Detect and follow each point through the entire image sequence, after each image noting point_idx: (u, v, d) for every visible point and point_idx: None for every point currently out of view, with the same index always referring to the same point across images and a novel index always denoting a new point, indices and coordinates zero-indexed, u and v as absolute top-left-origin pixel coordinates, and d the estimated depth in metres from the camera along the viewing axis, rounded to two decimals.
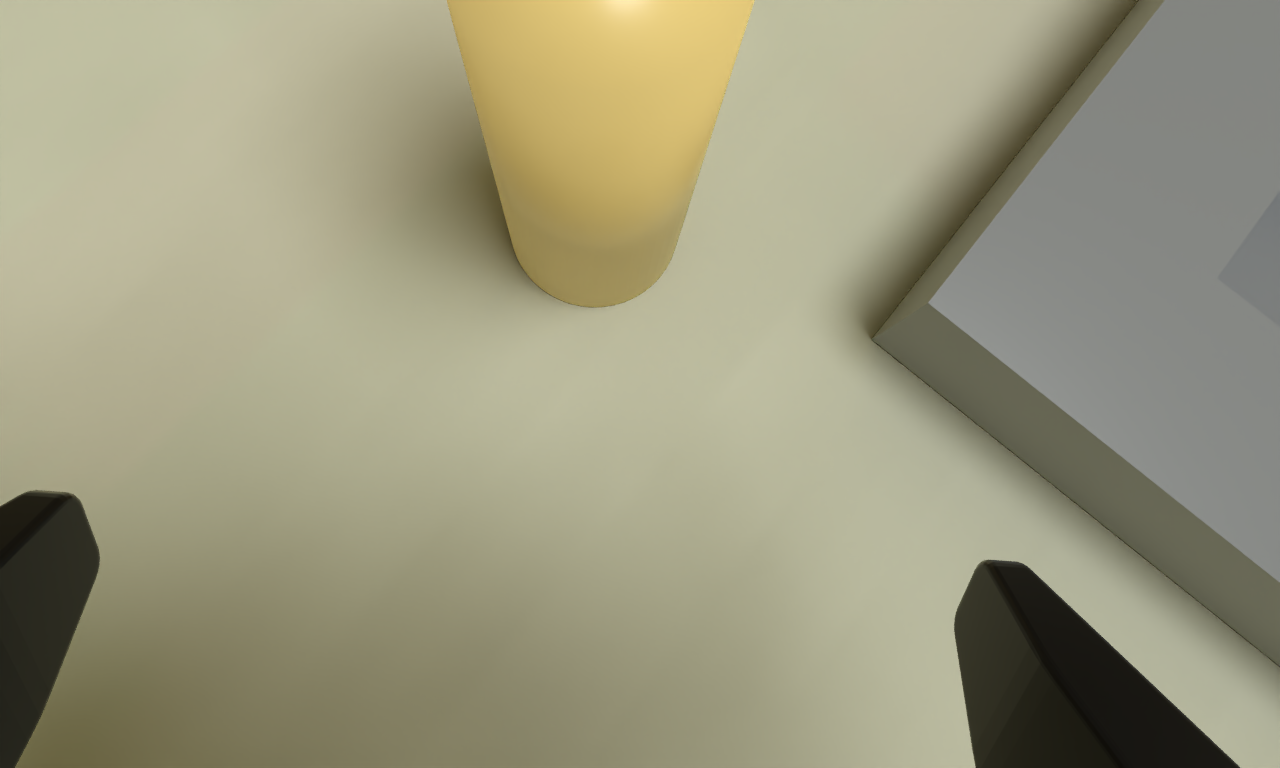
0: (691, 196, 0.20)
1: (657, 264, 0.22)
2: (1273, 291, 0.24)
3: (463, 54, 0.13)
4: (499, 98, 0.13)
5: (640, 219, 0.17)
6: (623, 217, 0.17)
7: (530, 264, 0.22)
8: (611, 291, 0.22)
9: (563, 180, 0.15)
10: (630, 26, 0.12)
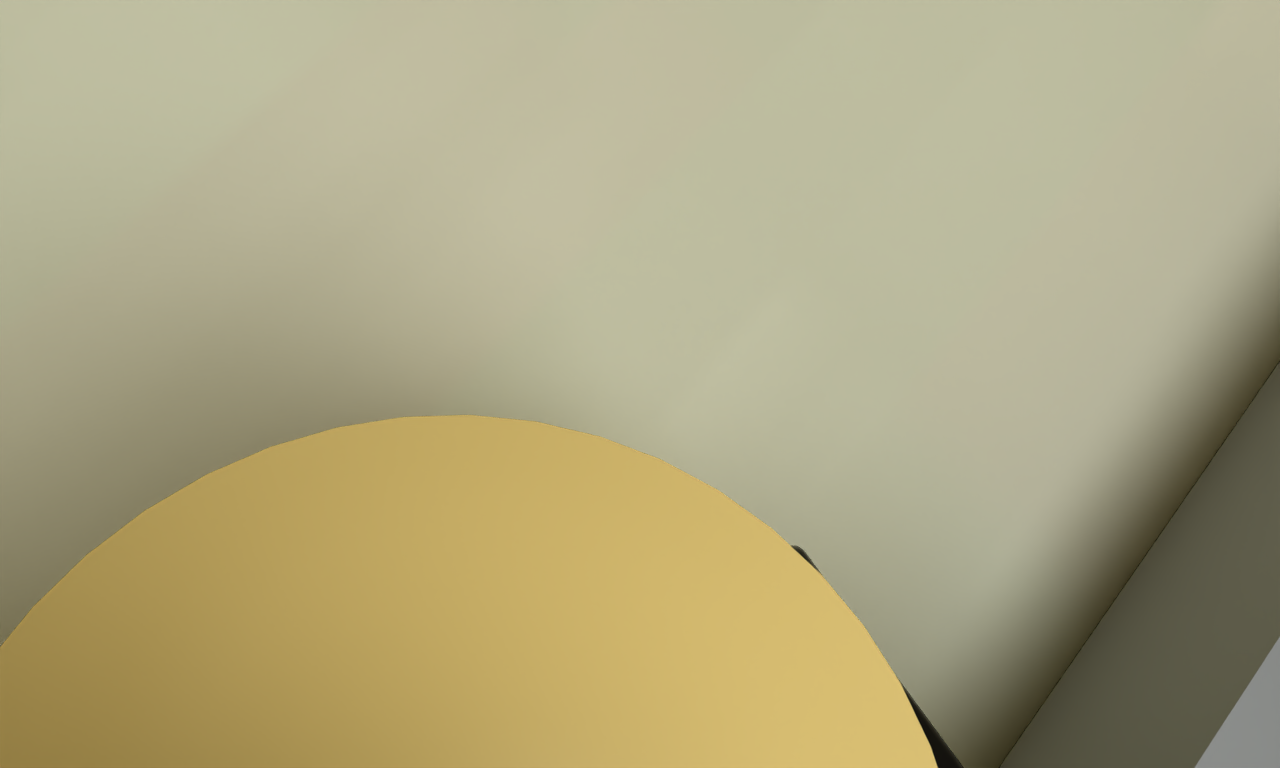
0: None
1: None
2: None
3: None
4: None
5: None
6: None
7: None
8: None
9: None
10: None
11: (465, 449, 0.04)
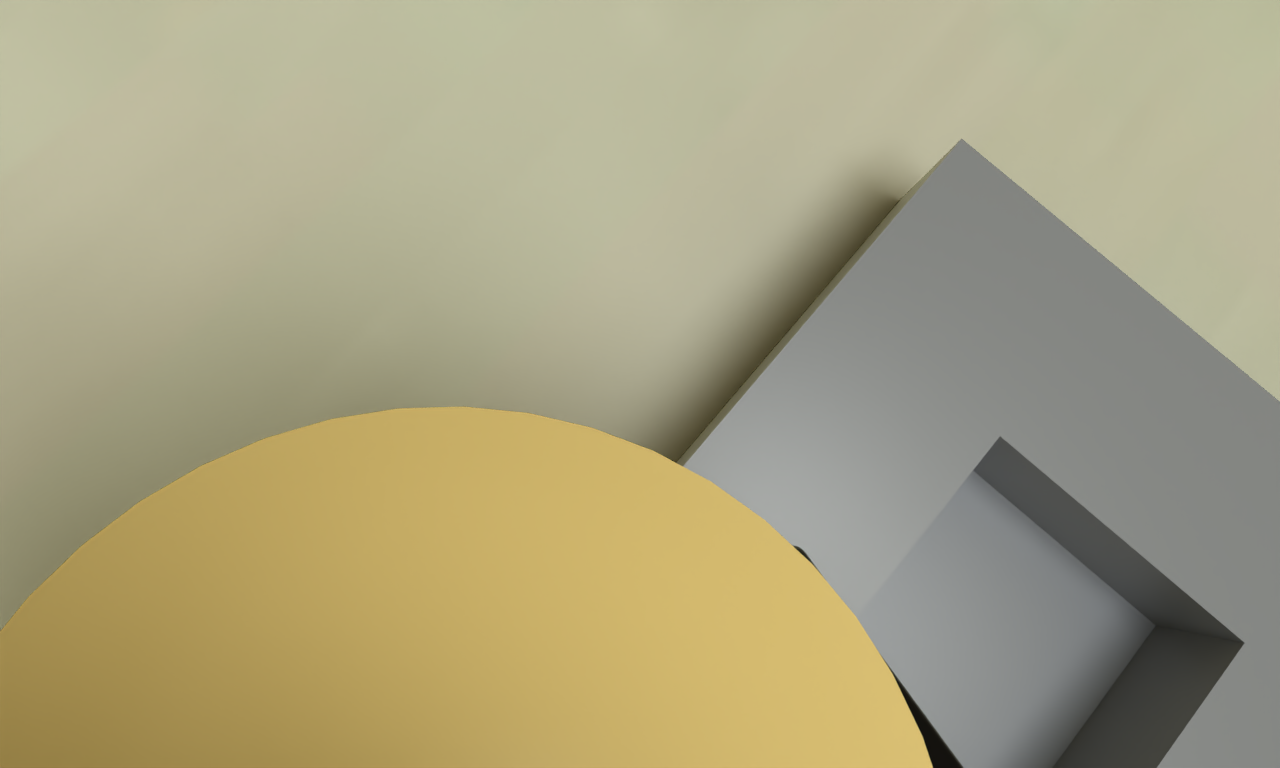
0: None
1: None
2: (929, 639, 0.22)
3: None
4: None
5: None
6: None
7: None
8: None
9: None
10: None
11: (459, 440, 0.04)
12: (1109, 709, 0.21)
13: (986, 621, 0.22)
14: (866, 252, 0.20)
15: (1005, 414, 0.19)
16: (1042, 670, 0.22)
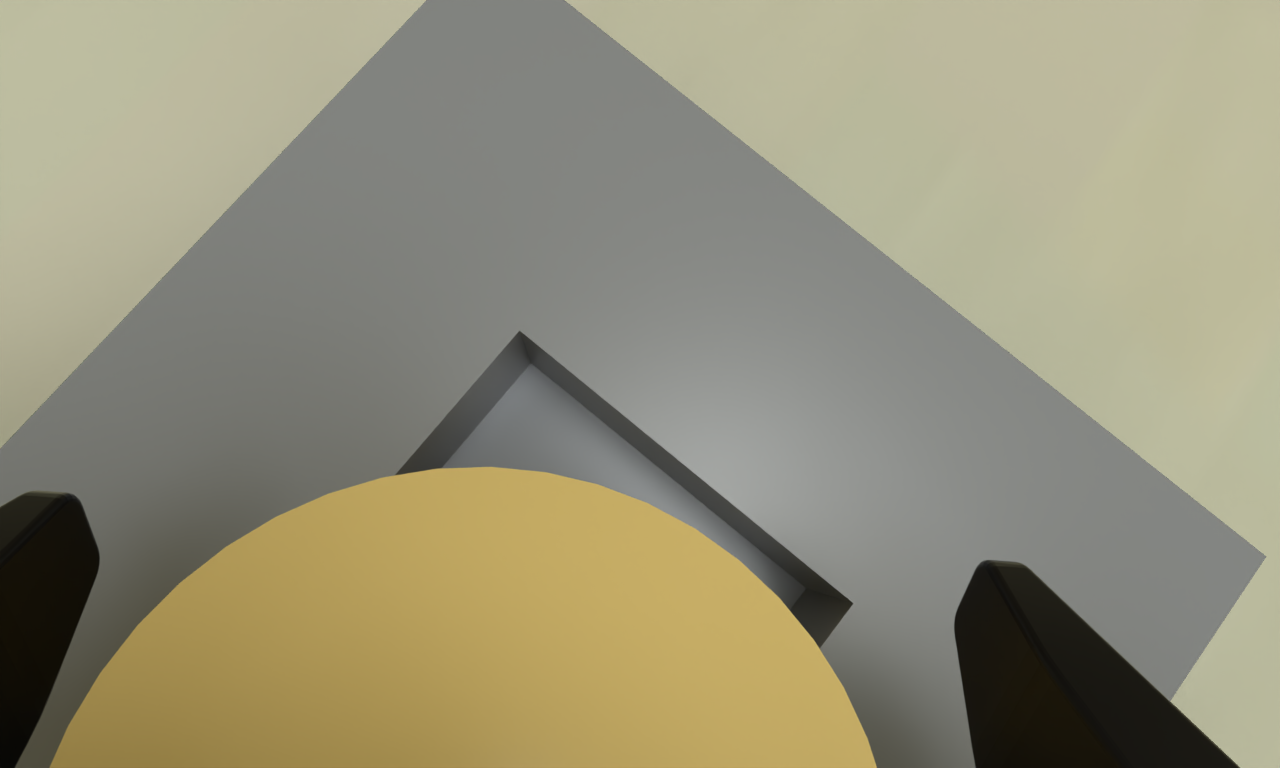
0: None
1: None
2: None
3: None
4: None
5: None
6: None
7: None
8: None
9: None
10: None
11: (486, 495, 0.05)
12: None
13: None
14: (345, 89, 0.15)
15: (528, 301, 0.14)
16: None
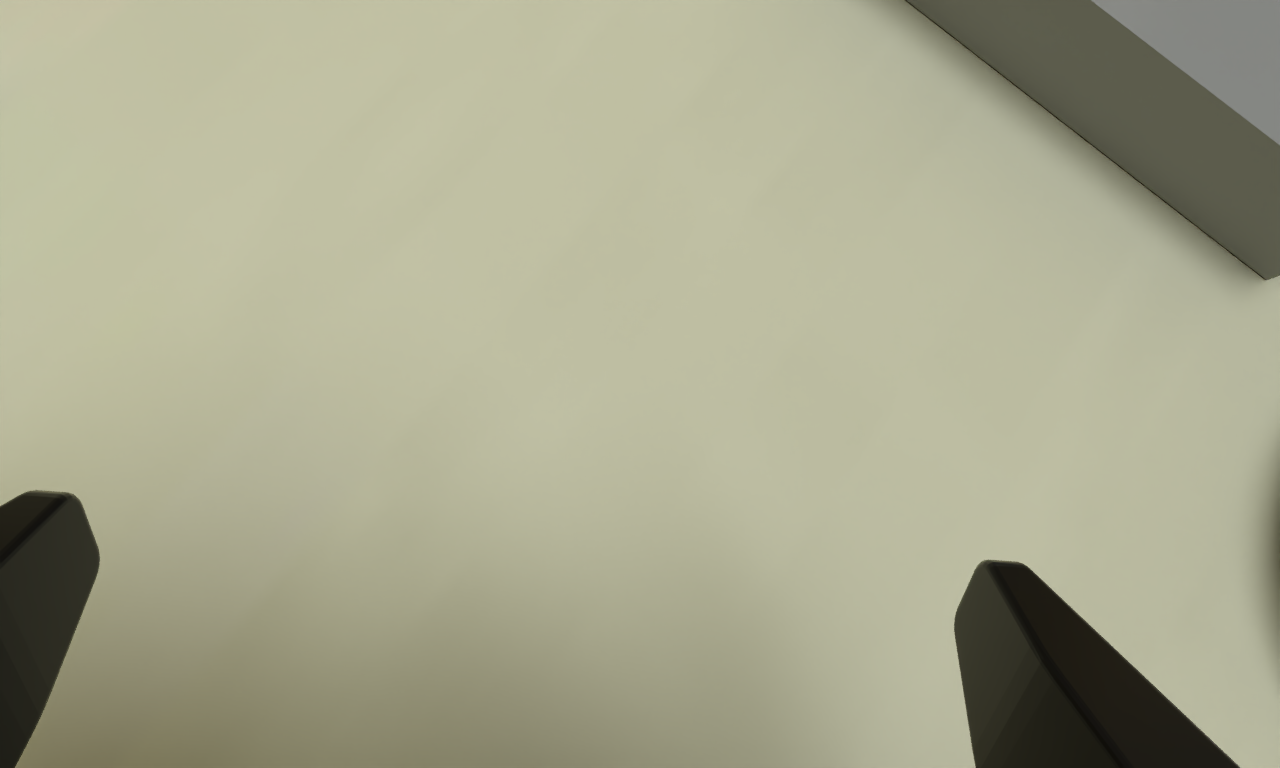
0: None
1: None
2: None
3: None
4: None
5: None
6: None
7: None
8: None
9: None
10: None
11: None
12: None
13: None
14: None
15: None
16: None
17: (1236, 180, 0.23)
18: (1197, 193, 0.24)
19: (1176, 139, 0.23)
